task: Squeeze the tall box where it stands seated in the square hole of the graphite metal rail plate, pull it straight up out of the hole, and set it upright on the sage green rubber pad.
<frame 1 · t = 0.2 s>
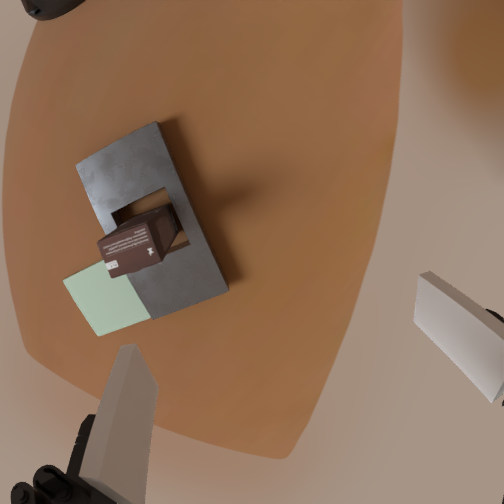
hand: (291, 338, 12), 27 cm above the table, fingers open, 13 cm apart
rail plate: (153, 223, 36), on the table
pad: (106, 297, 39), on the table
box: (153, 223, 36), resting in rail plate
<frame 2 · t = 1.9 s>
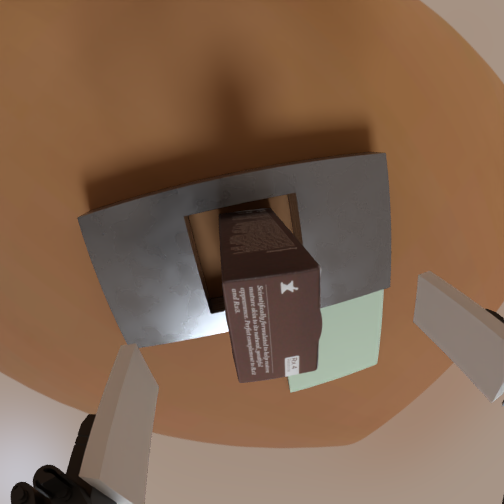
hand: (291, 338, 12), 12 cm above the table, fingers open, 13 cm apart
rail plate: (246, 246, 23), on the table
pad: (334, 341, 28), on the table
box: (246, 245, 23), resting in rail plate
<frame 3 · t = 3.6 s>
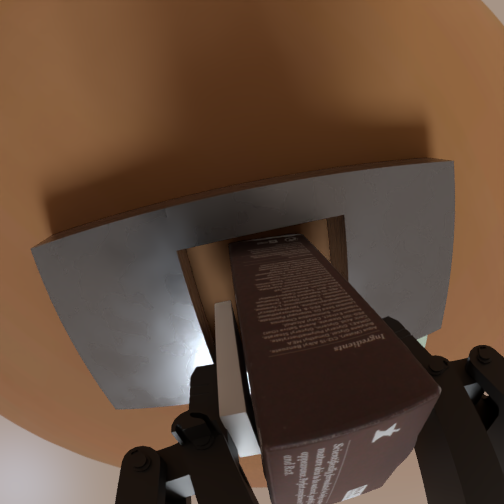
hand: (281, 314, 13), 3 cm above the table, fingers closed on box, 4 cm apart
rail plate: (267, 285, 16), on the table
box: (266, 284, 17), resting in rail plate, touching gripper
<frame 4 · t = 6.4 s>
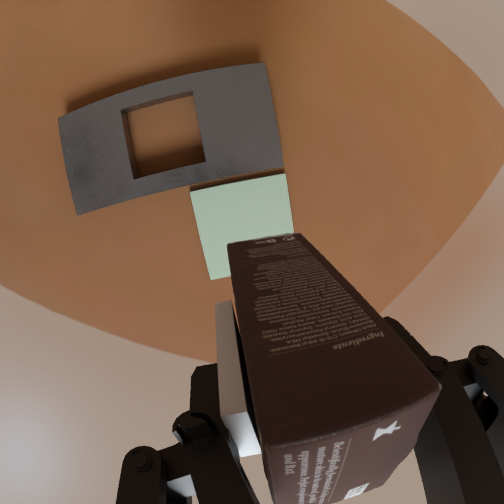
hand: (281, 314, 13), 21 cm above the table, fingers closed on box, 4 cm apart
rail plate: (165, 135, 29), on the table
pad: (246, 227, 34), on the table
box: (265, 283, 17), point 18 cm above the table, touching gripper
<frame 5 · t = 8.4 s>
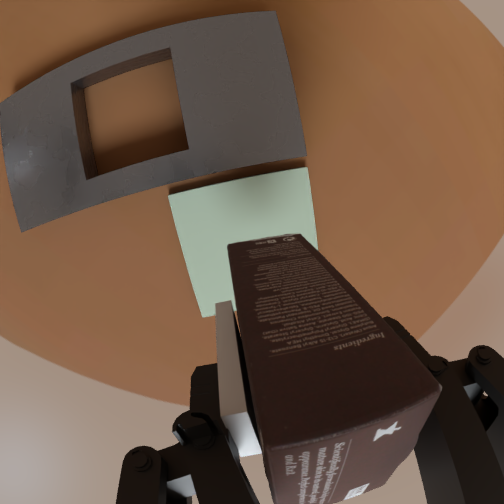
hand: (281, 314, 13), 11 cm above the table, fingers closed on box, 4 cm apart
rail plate: (133, 115, 19), on the table
pad: (250, 244, 24), on the table
box: (265, 284, 17), point 7 cm above the table, touching gripper
when the fingers open (5 cm above the table, at t = 9.7 s): box drops 1 cm, resting on pad.
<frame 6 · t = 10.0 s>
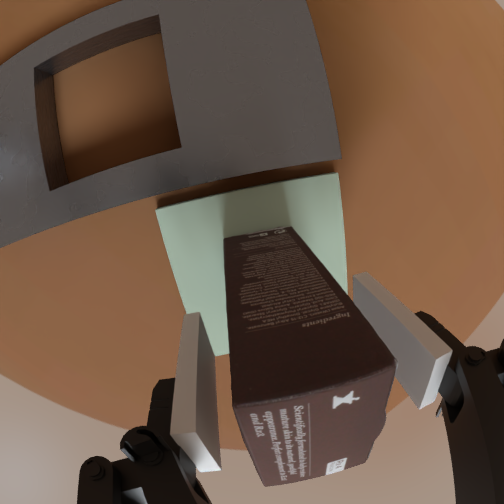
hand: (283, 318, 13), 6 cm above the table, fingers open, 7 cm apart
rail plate: (111, 105, 14), on the table
pad: (263, 271, 18), on the table
box: (261, 274, 18), resting on pad
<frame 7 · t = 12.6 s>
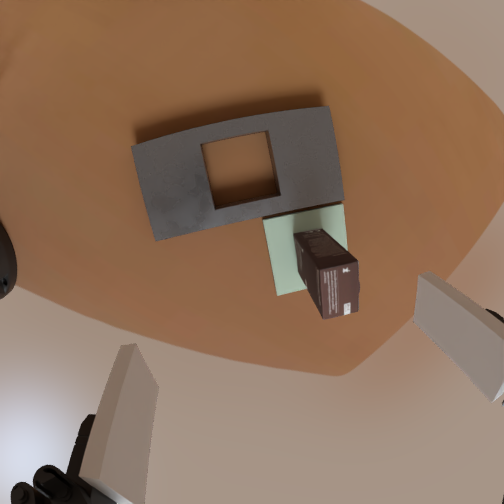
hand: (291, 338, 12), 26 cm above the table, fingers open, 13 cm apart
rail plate: (239, 168, 34), on the table
pad: (308, 249, 39), on the table
box: (308, 250, 38), resting on pad
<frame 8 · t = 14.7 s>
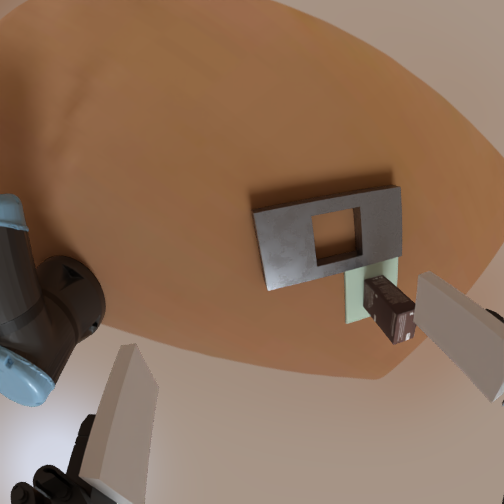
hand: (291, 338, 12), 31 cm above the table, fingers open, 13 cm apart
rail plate: (332, 232, 44), on the table
pad: (371, 289, 48), on the table
box: (371, 290, 48), resting on pad
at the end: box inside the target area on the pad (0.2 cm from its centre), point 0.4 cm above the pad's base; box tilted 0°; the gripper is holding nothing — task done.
